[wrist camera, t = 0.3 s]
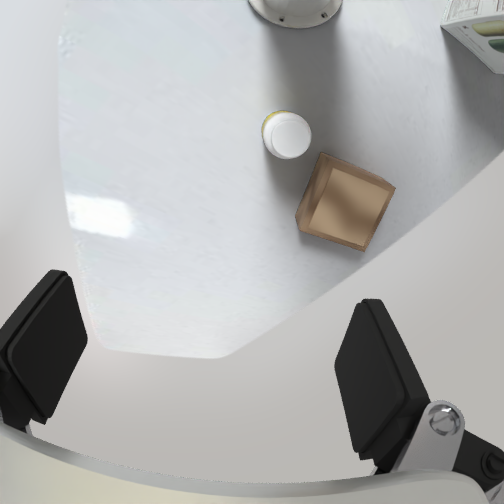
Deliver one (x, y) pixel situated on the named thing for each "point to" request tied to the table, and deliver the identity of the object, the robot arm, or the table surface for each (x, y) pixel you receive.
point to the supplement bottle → (286, 134)
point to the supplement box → (478, 29)
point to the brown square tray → (343, 203)
